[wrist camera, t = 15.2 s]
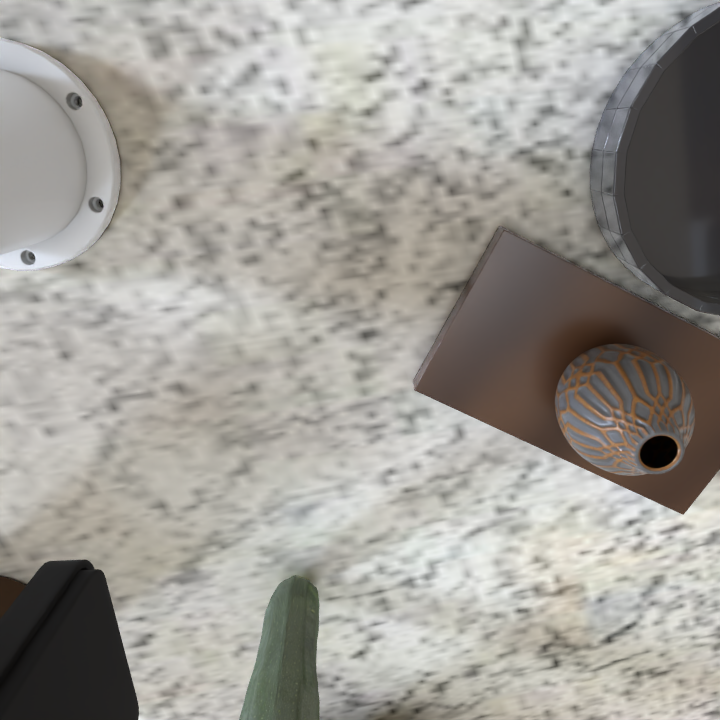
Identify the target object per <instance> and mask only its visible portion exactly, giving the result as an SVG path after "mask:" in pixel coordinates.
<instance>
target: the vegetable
mask: <svg viewBox="0 0 720 720" xmlns="http://www.w3.org/2000/svg"><path fill="white" fill-rule="evenodd" d="M318 630H319V597H318V591H317V588H316V587H315V586H314V585H313V584H312V583H311V582H310V581H309V580H307V579H304V578H302V577H300V576H293V577H291V578H289V579H287V580H284V581H283V582H281V583H280V584H279V585H278V587H277V589H276V590H275V592H274V593H273V595H272V597H271V599H270V602H269V605H268V607H267V609H266V613H265V617H264V623H263V630H262V637H261V642H260V645H259V650H258V654H257V659H256V663H255V666H254V670H253V674H252V676H251V679H250V682H249V685H248V689H247V693H246V697H245V701H244V704H243V708H242V712H241V715H240V719H239V720H319V693H318V681H317V674H316V651H317V637H318Z"/></svg>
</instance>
